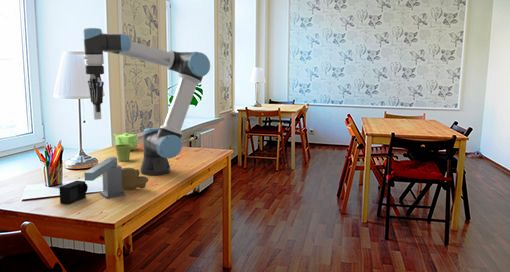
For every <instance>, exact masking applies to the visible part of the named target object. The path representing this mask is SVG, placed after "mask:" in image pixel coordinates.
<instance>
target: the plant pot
mask: <svg viewBox="0 0 510 272" xmlns="http://www.w3.org/2000/svg"><path fill="white" fill-rule="evenodd" d="M114 147H115V150H116V155H117V156H116V157H117V162H118V161H119V162H128V161H130V157H131V151H132V150H131V147H132V145H130V144H119V145H116V144H115V145H114Z"/></svg>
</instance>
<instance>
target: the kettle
mask: <svg viewBox="0 0 510 272" xmlns="http://www.w3.org/2000/svg"><path fill="white" fill-rule="evenodd" d="M112 135H113V136H114V137H115V145H119V144H130V145H132V147H131V150H130V151H134V150H135V148H137V147H138V140H139V137H138V135H137V134H130V133H128V132H124V133H121V134H115V133H114V134H113V133H112Z"/></svg>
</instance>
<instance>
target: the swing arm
mask: <svg viewBox="0 0 510 272" xmlns="http://www.w3.org/2000/svg"><path fill="white" fill-rule="evenodd" d="M116 165H118V156H107V157H106V158H105V159H104V160H103V161H101V162H99V163H97V164H96V165H93V166H92V167H91V168H90V169H88V170H86V171H84V181H85V182H86V181H87V182H88V181H89V182H90V181H91V182H92V181H95V180H96V179H98V178H99V177H101V176H103V173H105V172H106V171H108V170H109V169H110V168H112V167H113V166H116Z"/></svg>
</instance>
